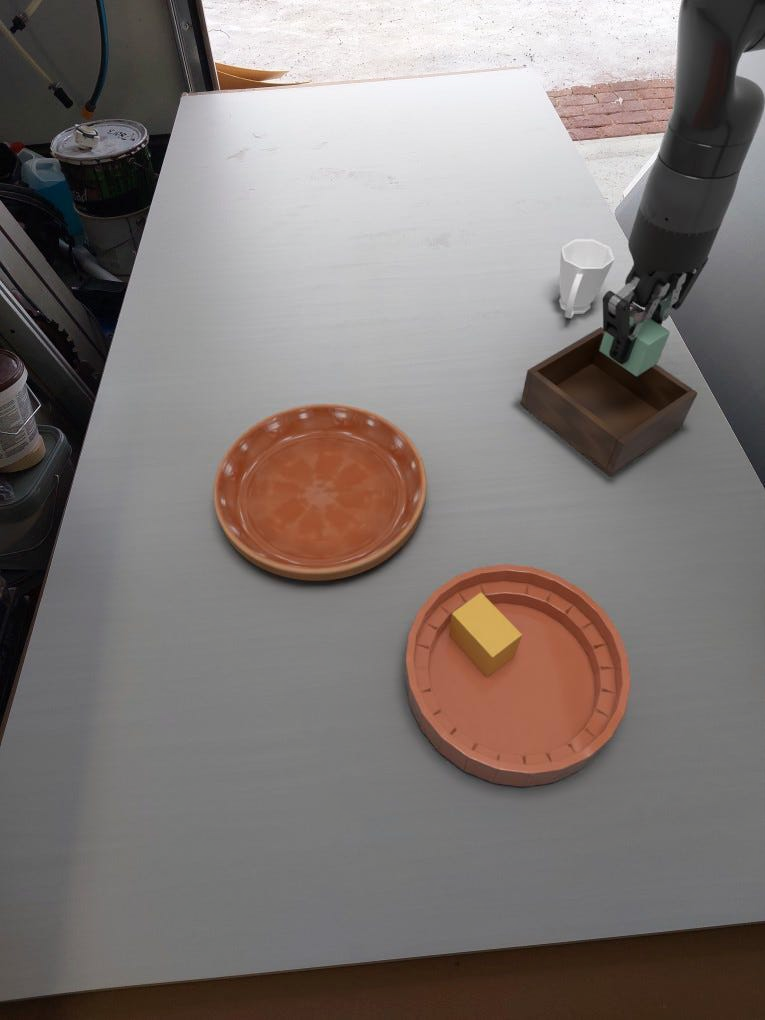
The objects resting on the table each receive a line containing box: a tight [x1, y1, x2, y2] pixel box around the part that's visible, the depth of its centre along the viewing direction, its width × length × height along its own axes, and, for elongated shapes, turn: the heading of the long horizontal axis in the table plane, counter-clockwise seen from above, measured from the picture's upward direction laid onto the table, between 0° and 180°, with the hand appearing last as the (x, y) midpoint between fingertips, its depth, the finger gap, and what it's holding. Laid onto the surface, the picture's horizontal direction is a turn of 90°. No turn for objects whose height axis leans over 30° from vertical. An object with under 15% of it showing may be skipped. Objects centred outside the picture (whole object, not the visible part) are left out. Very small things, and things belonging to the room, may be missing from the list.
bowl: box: [404, 563, 631, 788], centre depth 62 cm, size 19×19×4 cm
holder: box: [520, 326, 699, 477], centre depth 82 cm, size 15×13×6 cm
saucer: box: [212, 403, 428, 582], centre depth 75 cm, size 23×23×4 cm
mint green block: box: [599, 316, 671, 376], centre depth 76 cm, size 6×4×4 cm, turn 37°
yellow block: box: [449, 593, 522, 677], centre depth 64 cm, size 6×4×4 cm, turn 37°
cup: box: [558, 238, 615, 319], centre depth 92 cm, size 7×10×8 cm
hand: (630, 350), depth 77 cm, fingers closed on mint green block, 3 cm apart
